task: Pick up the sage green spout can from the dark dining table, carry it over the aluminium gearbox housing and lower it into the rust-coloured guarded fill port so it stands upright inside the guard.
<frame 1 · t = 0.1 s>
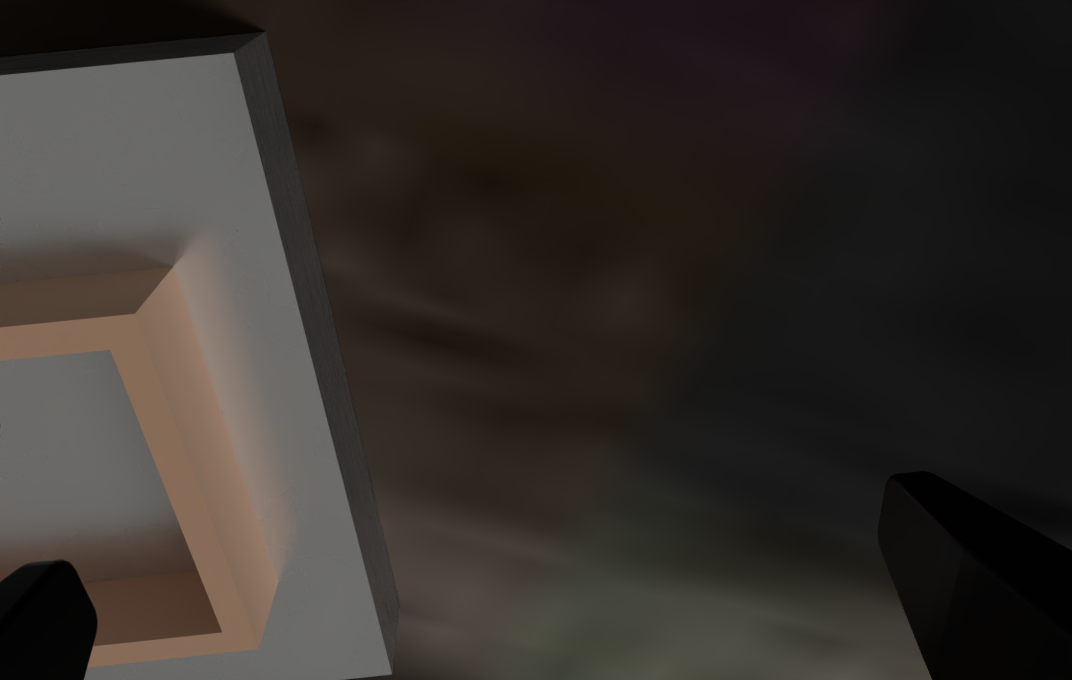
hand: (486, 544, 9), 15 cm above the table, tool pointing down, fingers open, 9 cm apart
gearbox housing: (84, 402, 25), on the table
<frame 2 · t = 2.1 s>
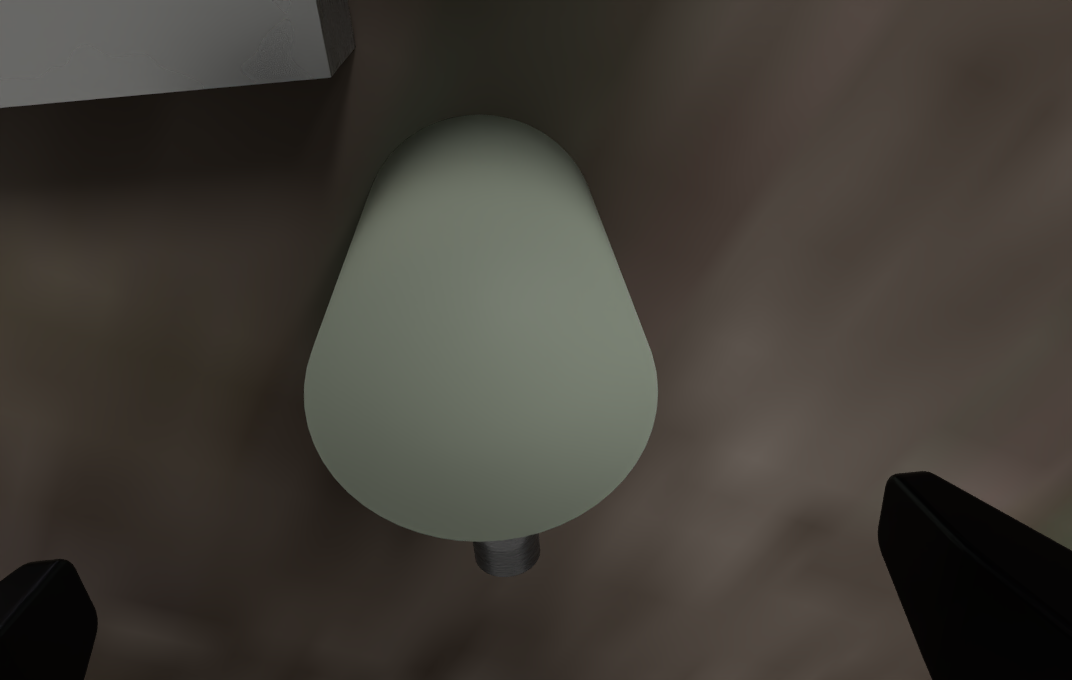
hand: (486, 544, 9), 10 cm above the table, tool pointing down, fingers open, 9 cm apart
spout can: (481, 230, 18), on the table
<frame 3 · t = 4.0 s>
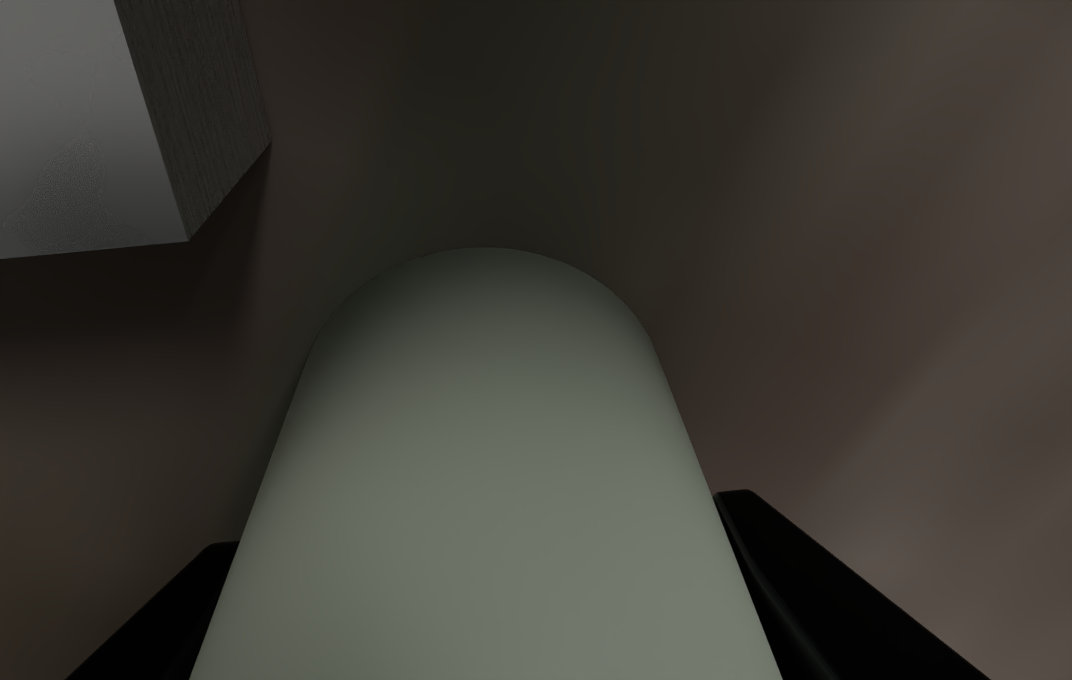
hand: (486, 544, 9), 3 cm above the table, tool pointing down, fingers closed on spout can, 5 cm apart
spout can: (485, 414, 11), on the table, touching gripper
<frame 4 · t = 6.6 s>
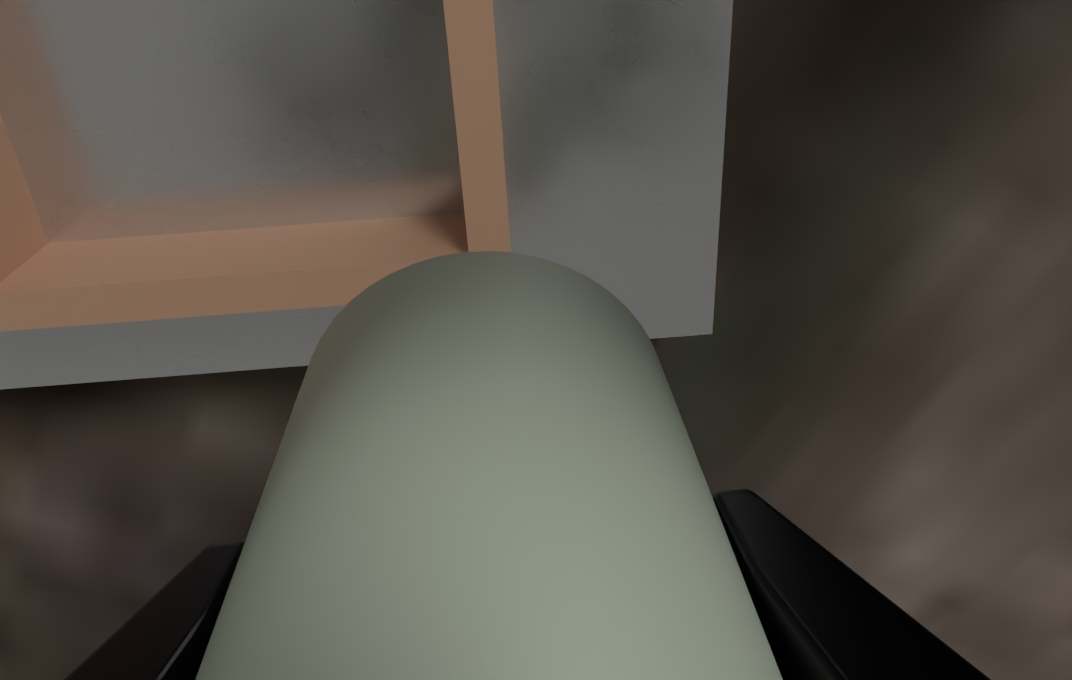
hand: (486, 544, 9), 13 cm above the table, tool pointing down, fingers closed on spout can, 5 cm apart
spout can: (486, 418, 11), point 10 cm above the table, touching gripper
when the fingers open (6 cm above the table, at t = 9.5 s): spout can stays where it is, resting on gearbox housing.
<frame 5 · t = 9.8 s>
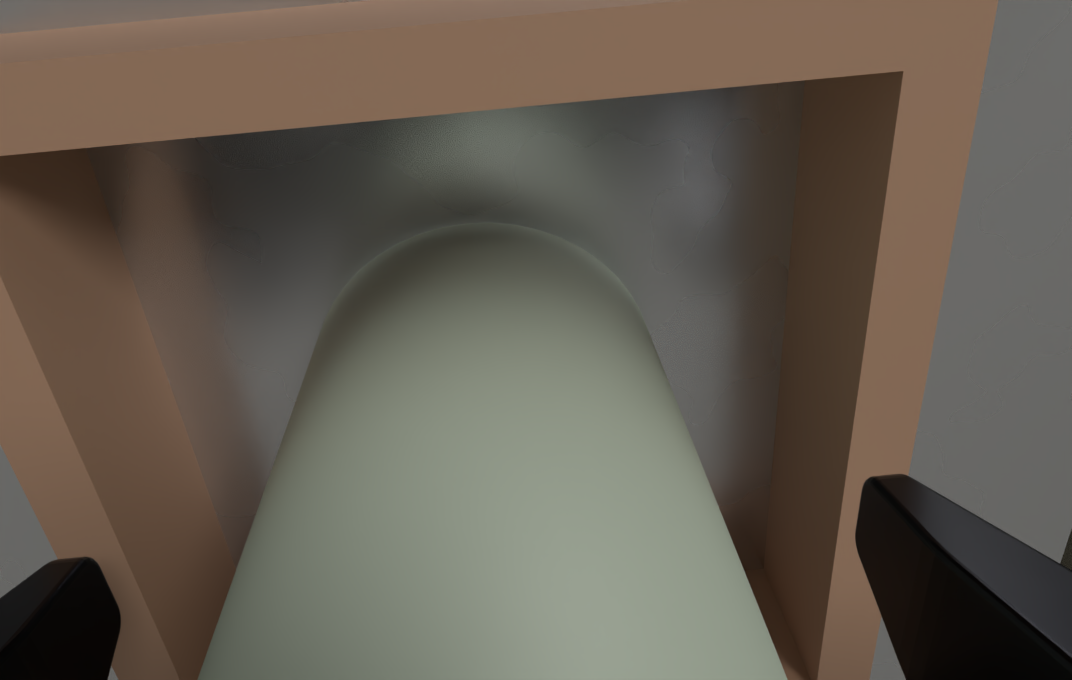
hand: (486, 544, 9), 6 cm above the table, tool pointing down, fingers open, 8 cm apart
gearbox housing: (481, 292, 15), on the table
spout can: (486, 381, 12), point 3 cm above the table, touching gearbox housing
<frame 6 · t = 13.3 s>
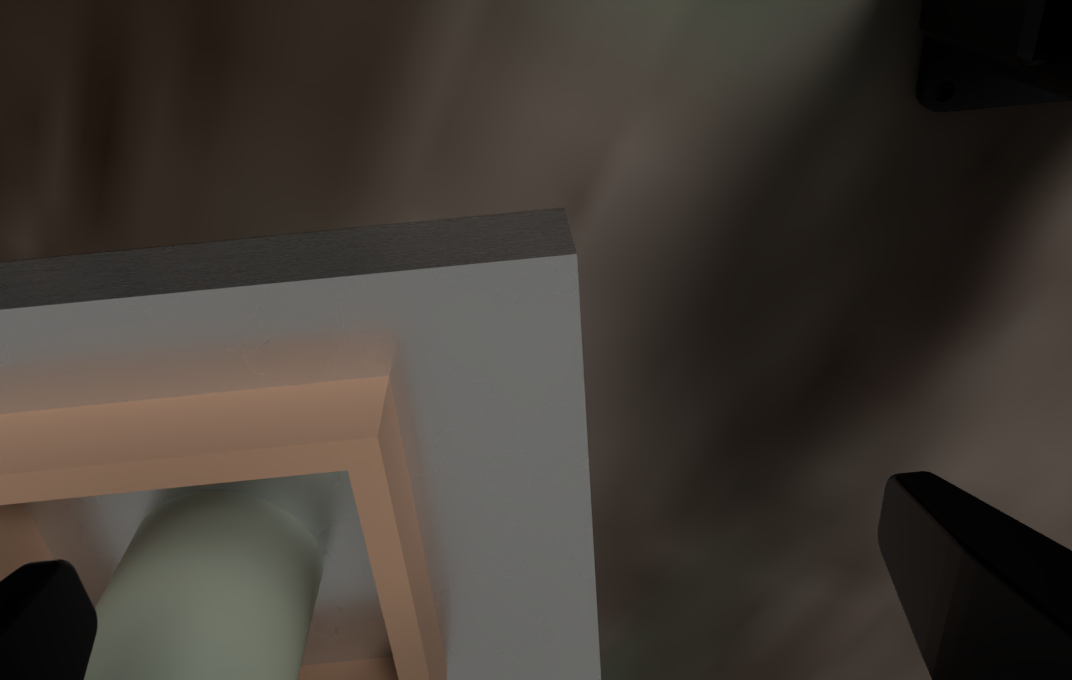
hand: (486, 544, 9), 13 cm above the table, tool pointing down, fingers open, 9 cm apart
gearbox housing: (254, 488, 24), on the table
spout can: (229, 561, 22), point 3 cm above the table, touching gearbox housing
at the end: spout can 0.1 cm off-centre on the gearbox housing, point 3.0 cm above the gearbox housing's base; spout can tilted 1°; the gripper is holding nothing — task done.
